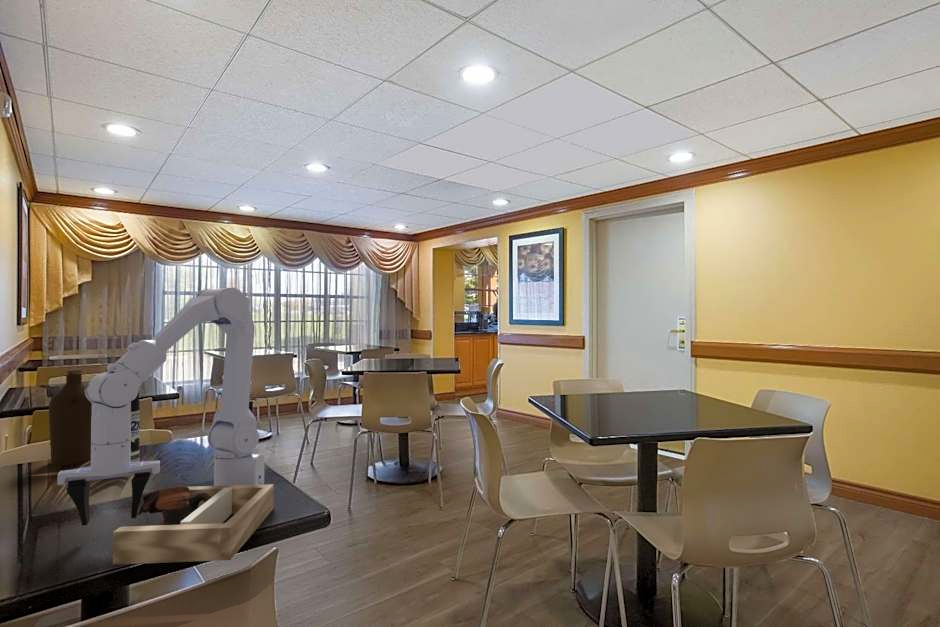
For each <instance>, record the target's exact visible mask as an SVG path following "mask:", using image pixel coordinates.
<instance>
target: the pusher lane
mask: <svg viewBox="0 0 940 627" xmlns="http://www.w3.org/2000/svg"><path fill="white" fill-rule="evenodd" d="M274 484H275V483H273V484H267V483H266V484H264V485H230V486H214V485H203V486H201V485H198V486H196V485H195V486H187V487H188V488H189V493H190V494H191V495H194V494H197V493H201V492H204V493H208V494H209V495H210V496H211V497H213V496H214V495H216V494H217V493H218V492H219V491H221V490H222V489H223V488H232V514H233V515H232V514H231V515H232V517H230V518H229V519H228V520H227V521H226V522H223V523H216V524H186V525H156V526H153V525H133V526H132V525H131V526H130V525H129V526H120V527H118V528H117V529H115V530H114V531H112V566H113V565H136V564H160V563H162V564H164V563H165V564H166V563H185V562H187V563H188V562H215V561H217V562H218V561H230V560H231V559H232V558H234V556H235V555H236V554H237V553H238V552H239V550H241V548H242V547H243V546H244V545H245V543H246V542H247V541H248V540H249V539H250V538H251V537H252V536H253V534H254V533H255V532H256V530H257V529H258V528H259V527H260V526H261V524H262V523H263V522H264V520H266V518H267V517H268V516H269V515H270V513H271V512H272V511H273V509H275V502H274V501H275V491H274V490H275V485H274ZM186 504H187V506H188V505H189V500H188V501H186ZM203 504H204V501H203V500H202V501H201V502H200V503H199V505H198V508H199V507H200V506H201V505H203Z"/></svg>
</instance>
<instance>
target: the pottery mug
mask: <svg viewBox="0 0 940 627" xmlns="http://www.w3.org/2000/svg"><path fill="white" fill-rule="evenodd" d="M188 487H189V486H173V487H167V488H163V489H157V490H155V491H153V492H150V493H148V494H146V495H145V496H143V504H142V505H141V506H140V508H139V509H138V514H137V516H140V515H141V514H142V513H145V514H147V513H149V514H156V513H157V514H158V513H161V514H162V516H163V520H162V521H161V522H157V523H154V524H153V525H152V526H156V525H180V522H181V521H182V520H183V519H185V518H186V517H187V516H189V515H190V514H191V513H192V512H194V511H195V510H196V509H198V505H199V503H200V502H201V501H202V500H203V501H204V503H205V502H207V501H208V500H209V499H210V498H212V497H211V496H210V495H209V494H208V493H204V492H201V493H197V494H194V495H191V494H190V493H189V488H188ZM188 500H189V505H188V506H187V504H186V501H188Z"/></svg>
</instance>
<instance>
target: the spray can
mask: <svg viewBox="0 0 940 627" xmlns="http://www.w3.org/2000/svg"><path fill="white" fill-rule="evenodd" d="M140 419H141V418H140V391H139V390H138V394H137V396H136V398H135V399H134V400H132V401H131V462H141V461H140V458H141V457H140V448H141V446H140V434H141V433H140V428H141V427H140V423H141V422H140Z"/></svg>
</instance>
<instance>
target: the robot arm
mask: <svg viewBox="0 0 940 627" xmlns="http://www.w3.org/2000/svg"><path fill="white" fill-rule="evenodd" d="M207 322H211V323H213V324H215V325H216V326H217V327H218V328H219V329H220V330H221V331H222V332H223V333H224V334H225V336H226V337H225V348H224V349H225V350H224V360H223V362H224V363H223V375H222V386H221V387H222V388H221V400H220V401H221V402H220V408H219V410H218V411H217V412H216V413H215V414H214V415H213V420H212V425H211V427H210V428H209V430H208V432H207V442H208V445H209V446H210V447H211V448H212V449H213V455H214V456H213V461H214V462H213V486H230V485H265V459H264V456H263V454H260V453H254V451H255V449H256V448H257V447H258V446H257V445H258V444H259V441H260V436H259V435H260V434H259V431H258V428H257V418H256V417H255V415H254V414H253V412H252V411H251V409H250V398H251V397H250V395H251V385H252V384H251V383H252V382H251V381H252V380H251V379H252V372H253V371H252V367H253V355H254V354H253V353H254V346H255V345H254V342H255V329H256V328H255V327H256V326H255V323H254V319H253V317H252V314H251V312H250V299H249V298H248V296H246V295H245V294H244V293H243V291H241V290H240V289H238V288H236V287H232V286H231V287H230V286H229V287H225V288H213V289H211V288H204V289H201V290H200V291H199V292H197V294H196V295H195V296H193V297H191V298H189V299H188V300H187V302H186V303H185V305H184V306H183V307H182V308H181V309H180V310H179V311H178V312H177V313H176V314H175V315H174V316H173V317H172V318H171V319H170V320H169V321H168V322H167V323H166V324H165V325H164V326H163V327H162V328H161V329H160V330H159V331H158V332H157V333H156V334H155V335H154V336H153V337H152V338H151V339H141V340H139V341H138V342H132V343H131V344H129V345H128V346H127V349H128V351H127V352H125V354H123V355H122V356H121V357H120V358H119V359H118V360H117V361H115V362H114V363H109V364H108V365H107V366H106V367H105V368H106V369H107V372H106V371H105V372H102V373H98V374H96V375H95V376H94V377H92V378H91V380H90V381H89V382H88V386H86V387H87V389H85V395H86V397H87V399H88V400H89V401H90V402H91V403H92V416H91V460H90V466H85V467H80V468H73V469H72V468H71V469H65V470H60V471H59V472H58V473H57V481H56V482H57V484H56V485H57V486H62V485H66V484H67V487H66V493H67V495H68V496H69V498H71V500H72V502H73V503H74V505H75V507H76V510H77V512H78V514H79V518H80V522H81V526H82V527H83V526H87V525H88V524H89V522H90V517H91V515H90V490H91V481H97V480H106V479H115V478H125V477H132V479H131V498H132V502H131V511H130V512H131V513H130V517H131V519H136V518H137V517H138V513H139V506H140V503H141V499H142V496H143V492H144V491H145V488H146V486H147V484H148V482H149V479H150V477H151V476H152V475H159V473H160V470H161V462H160V461H161V460H152V461H151V460H149V461H146V460H145V461H140V462H131V401H132V400H134V399H135V398H136V396H137V394H138V391H139V387H141V386H142V385H143V384H144V383H145V382H146V381H147V380H148V379H149V378H150V377H151V376H152V375H153V374H154V373H155V372H156V371H157V370H159V369H160V367H162V365H163V364H165V362H166V361H167V353H168V351H169V350H170V349H171V348H172V347H173V346H174V345H176V344H177V343H178V342H179V341H180V340H182V338H184V337H185V336H186V335H188V334H189V332H191V330H193V329H194V328H195V327H197V326H198V325H199V324H202V323H203V324H204V323H207Z"/></svg>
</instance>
